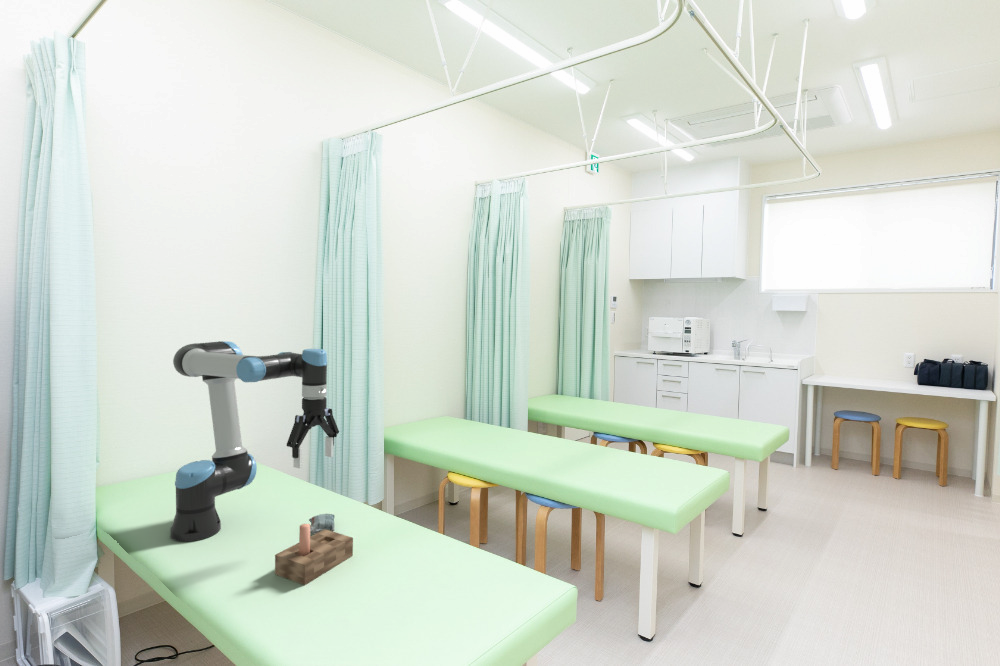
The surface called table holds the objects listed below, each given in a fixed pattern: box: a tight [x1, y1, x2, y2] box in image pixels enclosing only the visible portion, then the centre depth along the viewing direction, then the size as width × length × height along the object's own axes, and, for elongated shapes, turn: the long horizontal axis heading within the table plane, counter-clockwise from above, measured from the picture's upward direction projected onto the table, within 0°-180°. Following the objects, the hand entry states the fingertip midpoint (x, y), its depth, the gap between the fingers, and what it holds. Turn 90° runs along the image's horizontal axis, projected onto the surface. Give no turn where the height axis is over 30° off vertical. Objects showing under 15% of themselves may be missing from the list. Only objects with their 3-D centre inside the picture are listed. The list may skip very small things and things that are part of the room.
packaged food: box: [308, 513, 335, 535], centre depth 191 cm, size 9×12×5 cm
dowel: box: [298, 523, 311, 556], centre depth 163 cm, size 3×3×12 cm
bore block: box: [274, 529, 354, 586], centre depth 167 cm, size 12×20×6 cm, turn 154°
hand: (313, 461), depth 176 cm, fingers open, 13 cm apart
